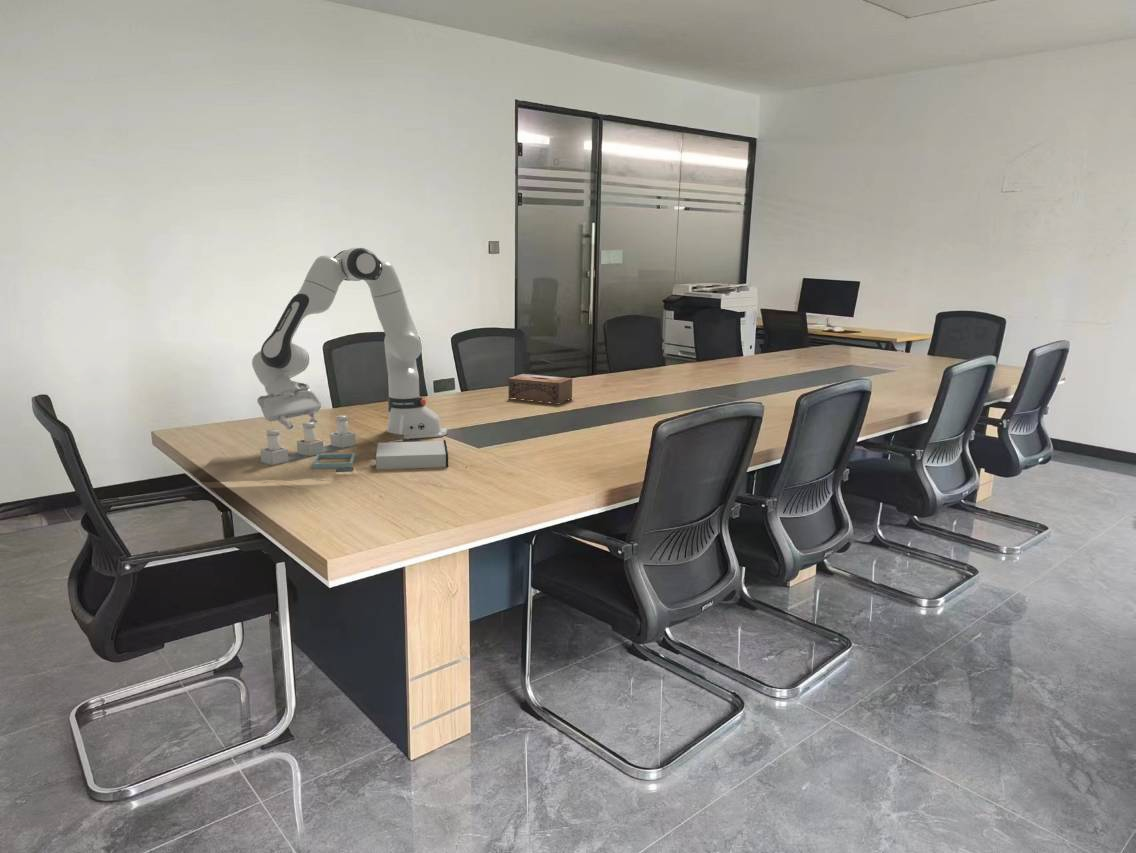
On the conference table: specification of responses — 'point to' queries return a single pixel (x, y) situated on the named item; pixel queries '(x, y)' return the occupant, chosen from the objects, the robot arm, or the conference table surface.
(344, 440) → the fuse holder
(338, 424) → the peg
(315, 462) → the tray
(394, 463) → the disc drive
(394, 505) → the conference table surface
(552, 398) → the tissue box cover
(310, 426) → the marked fuse
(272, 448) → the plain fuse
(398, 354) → the robot arm
